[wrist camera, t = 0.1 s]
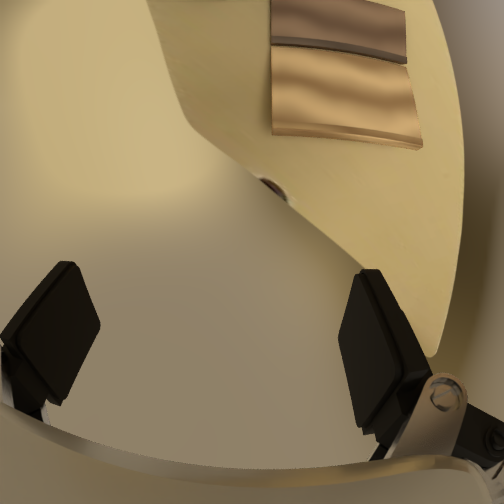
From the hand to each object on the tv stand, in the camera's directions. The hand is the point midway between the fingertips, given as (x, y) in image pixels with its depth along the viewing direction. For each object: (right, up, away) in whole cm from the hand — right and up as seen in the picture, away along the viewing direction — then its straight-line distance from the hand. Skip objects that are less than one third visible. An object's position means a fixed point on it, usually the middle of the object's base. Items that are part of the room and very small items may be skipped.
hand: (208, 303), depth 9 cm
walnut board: (+13, +31, +17) cm, 38 cm away
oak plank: (+13, +20, +20) cm, 31 cm away
